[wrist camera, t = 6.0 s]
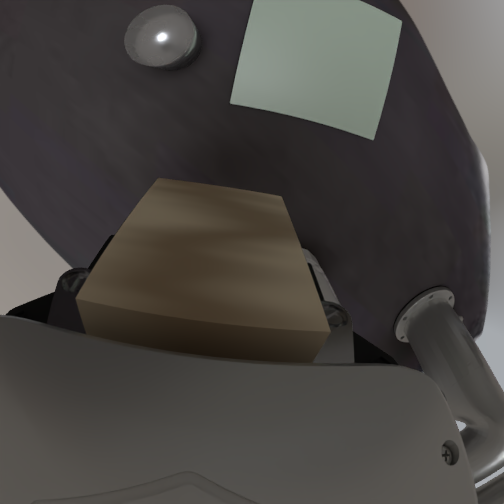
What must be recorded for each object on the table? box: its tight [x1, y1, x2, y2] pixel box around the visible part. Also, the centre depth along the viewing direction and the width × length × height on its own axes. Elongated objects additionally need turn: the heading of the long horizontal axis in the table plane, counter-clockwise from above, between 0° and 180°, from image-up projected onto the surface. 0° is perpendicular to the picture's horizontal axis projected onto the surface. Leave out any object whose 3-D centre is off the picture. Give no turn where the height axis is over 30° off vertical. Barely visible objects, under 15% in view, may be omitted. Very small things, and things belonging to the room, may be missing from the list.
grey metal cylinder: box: [125, 5, 202, 71], centre depth 16 cm, size 5×5×6 cm
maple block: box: [75, 178, 331, 363], centre depth 9 cm, size 5×5×7 cm
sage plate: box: [230, 0, 402, 140], centre depth 19 cm, size 14×14×1 cm
